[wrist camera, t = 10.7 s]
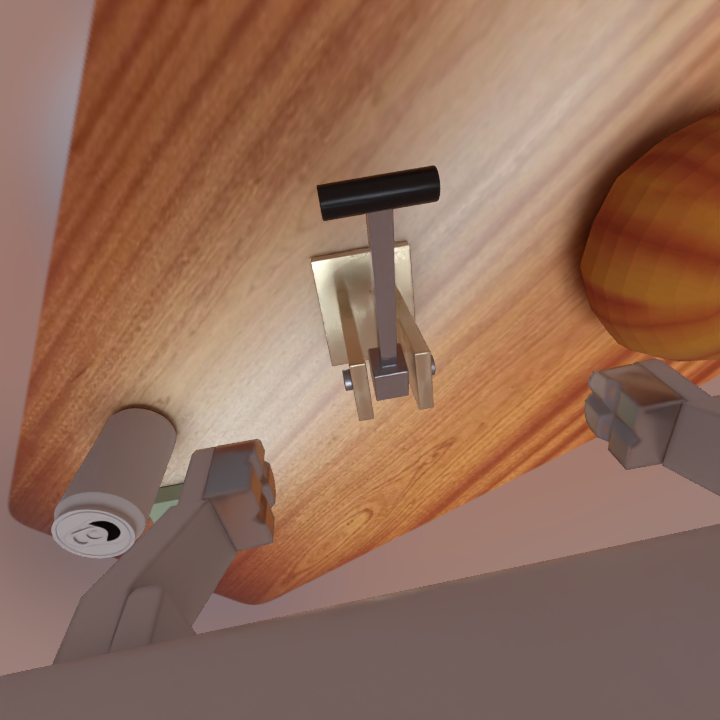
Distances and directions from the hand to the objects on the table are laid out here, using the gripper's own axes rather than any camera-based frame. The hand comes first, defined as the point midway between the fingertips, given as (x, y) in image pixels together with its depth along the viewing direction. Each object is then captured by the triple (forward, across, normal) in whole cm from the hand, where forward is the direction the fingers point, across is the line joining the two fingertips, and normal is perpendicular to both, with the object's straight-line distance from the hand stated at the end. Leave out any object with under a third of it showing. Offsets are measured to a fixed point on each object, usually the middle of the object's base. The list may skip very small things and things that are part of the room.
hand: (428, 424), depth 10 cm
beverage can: (+27, +22, +18) cm, 39 cm away
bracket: (+26, -1, +9) cm, 28 cm away
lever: (+14, -1, +3) cm, 15 cm away
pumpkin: (+26, -28, +7) cm, 39 cm away
